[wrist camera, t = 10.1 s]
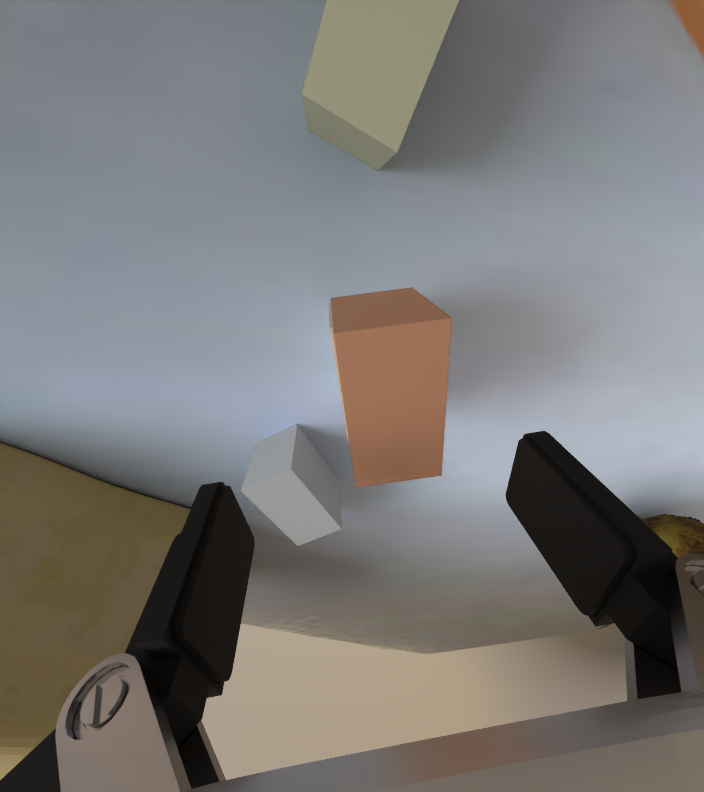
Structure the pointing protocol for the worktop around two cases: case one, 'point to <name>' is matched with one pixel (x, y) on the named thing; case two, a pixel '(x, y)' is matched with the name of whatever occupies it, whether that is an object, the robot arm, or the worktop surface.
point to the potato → (679, 533)
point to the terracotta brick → (393, 383)
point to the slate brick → (294, 486)
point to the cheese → (67, 585)
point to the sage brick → (372, 72)
